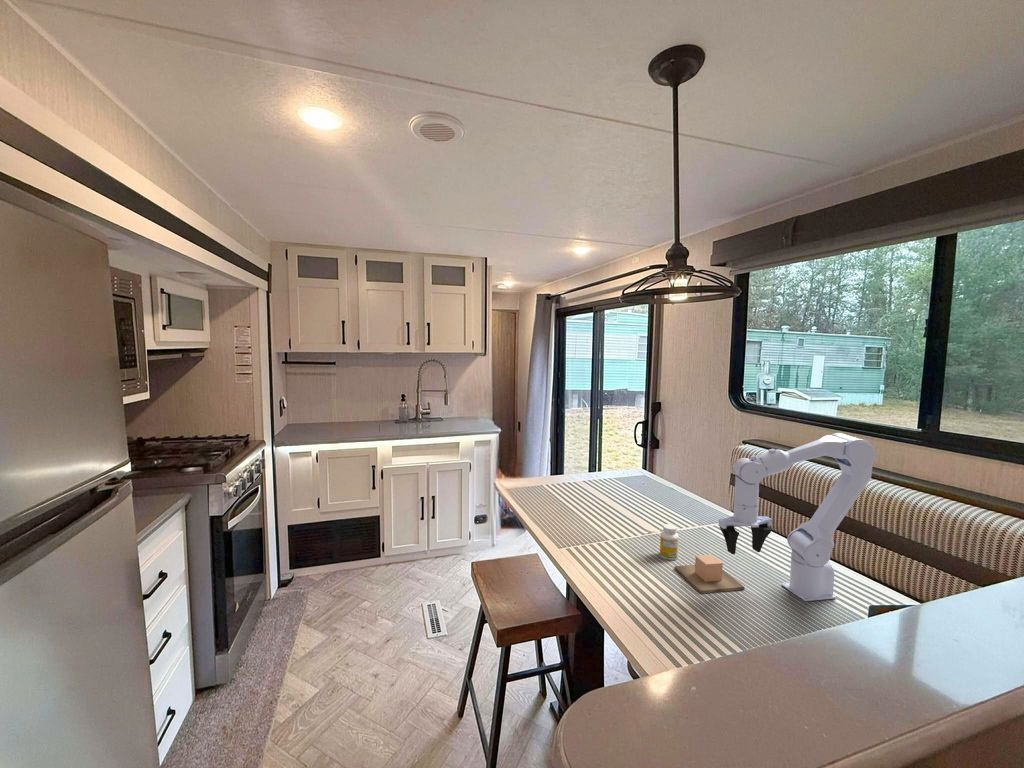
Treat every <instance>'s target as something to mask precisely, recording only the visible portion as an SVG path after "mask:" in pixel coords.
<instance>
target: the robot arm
mask: <svg viewBox="0 0 1024 768" xmlns="http://www.w3.org/2000/svg"><path fill="white" fill-rule="evenodd" d="M820 457H831V458H834V460H835V461H837V464H838V466H839V468H840V470H841V474H840V475H839V477H838V478H837V480H836V481H835V482H834V484H833V485H832V487H831V489H829V491H828V493H827V495H826V496H825V497H824V498H823V500H822V502H821V503H820V505H819V506H818V508H817V509H816V511H815V512H814V514H813V515H812V516H811V518H810V519H809V521H806V522H802V523H800V524H799V525H798V527H797V528H795V529H794V530H792V531H791V532H789V534H788V536H787V539H786V541H787V544H788V546H789V547H790V548H791V555H790V572H789V573H790V574H789V582H781V586H782V587H784V588H785V589H786V590H788V591H789V592H791V593H792V594H794V595H795V596H796V597H798V598H800V599H801V600H803V601H804V602H812V601H822V600H831V599H833V600H834V599H836V598H837V596H836V595H834V585H835V571H834V567H833V565H832V564H831V563H830V562H829V561H830V560H831V553H832V550H833V549H834V548H835V542H834V538H833V534H834V532H835V531H836V529H837V528H838V527H839V525H840V524H841V522H842V521H843V520H844V518H845V516H846V515H847V513H849V511H850V510H851V508H852V506H853V505H854V504H855V502H856V500H857V499H858V498H859V496H860V495H861V493H862V492H863V490H864V489H865V488H866V486H867V485H868V483H869V482H870V480H871V479H872V474H873V464H874V462H875V461H876V459H877V457H878V454H877V452H876V450H875V448H874V446H873V445H872V443H871V442H870V441H868V440H866V439H862V438H857V437H854V436H852V435H847V434H845V433H843V432H836V433H832V434H831V435H830V434H828V435H824V436H823V437H821V438H819V439H817V440H813V441H810V442H809V443H805V444H802V445H800V446H798V447H795V448H791V449H789V450H787V451H784V450H782V449H779V448H777V449H775V448H771V449H770V448H769V449H768V452H765V453H761V454H758V455H755V454H753V455H750V458H749V457H748V458H746V457H741V458H738V459H737V460H736V461H735V462H734V463H733V466H731V470H732V473H733V475H735V477H734V478H735V480H734V481H735V482H734V493H733V495H734V498H733V515H731V516H728V517H724V518H719V519H718V527H719V529H720V531H721V533H722V535H723V537H724V541H725V545H726V548H727V549H726V550H727V552H728V553H729V554H731V555H736V550H737V541H738V538H739V535H740V532H739V531H737V530H736V527H737V528H739V527H740V528H741V527H750V529H751V545H752V546H751V547H752V549H753V551H755V552H756V553H761V550H762V549H763V548H762V547H763V546H764V543H765V540H766V539H767V538H768V536H769V535H770V534H771V533H772V528H771V526H772V518H770V517H768V516H767V515H765V516H763V515H762V516H761V515H759V514H758V513H759V495H760V494H759V493H760V483H761V482H762V481H763V479H764V478H766V477H769V476H772V475H776V474H780V473H782V472H785V471H789V470H790V468H791V466H792V465H793V464H797V463H801V462H804V461H808V460H811V459H816V458H820Z"/></svg>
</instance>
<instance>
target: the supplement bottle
mask: <svg viewBox="0 0 1024 768" xmlns="http://www.w3.org/2000/svg"><path fill="white" fill-rule="evenodd" d="M677 528H678V527H677V526H676V525H674V524H670V523H666V524H663V526H662V531H661V532H660V540H659V541H660V542H659V555H660V557H662V558H663V559H665V560H669V561H675V560H678V558H679V546H680V545H679V543H680V542H679V540H680V539H679V534H678V533H677V531H678V529H677Z"/></svg>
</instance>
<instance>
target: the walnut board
mask: <svg viewBox="0 0 1024 768" xmlns="http://www.w3.org/2000/svg"><path fill="white" fill-rule="evenodd" d="M673 569H674V570H675V571H676V572H677V573H678V574H679V575H680V574H681V575H682V576H683V579H684V580H686V581H687V583H688V584H690V585H691V586H692V587H693V588H694V589H695V590H697V592H698V593H699V594H711V593H721V592H734V591H742V590H744V591H745V590H746V589H745V586H744V585H743V584H742V583H740V582H739V581H738V580H736V579H735V578H734V577H733V576H732V575H730V574H729V573H728V572H726V571H725V570H724V569H722V580H721V581H709V582H705V581H704V580H703V579H702V578H701V577H700V576H698V575H697V574H696V573H695V564H686V565H674V568H673ZM681 575H680V576H681ZM682 576H681V577H682Z"/></svg>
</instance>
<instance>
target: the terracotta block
mask: <svg viewBox="0 0 1024 768" xmlns="http://www.w3.org/2000/svg"><path fill="white" fill-rule="evenodd" d="M694 562H695V564H694V565H695V573H696V574H697V575H698V576H700V577H701V578H702V579H703V580H704V581H705V582H709V581H721V580H722V570H723V566H724V565H723V564H724V563H723V562H722V561H721V560H720V559H718V558H717V557H715V556H714V555H712V554H702V555H695V561H694Z"/></svg>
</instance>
